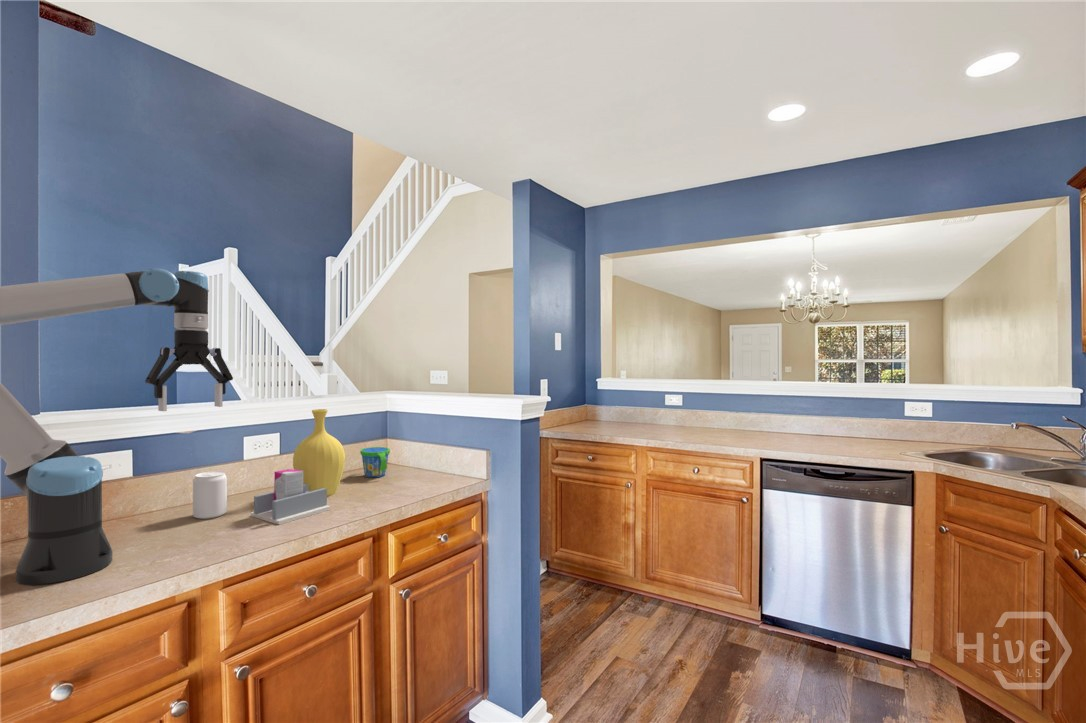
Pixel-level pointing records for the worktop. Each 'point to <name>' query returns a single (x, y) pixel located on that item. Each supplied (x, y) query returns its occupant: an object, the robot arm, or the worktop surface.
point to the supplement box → (288, 483)
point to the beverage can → (209, 494)
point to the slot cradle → (290, 506)
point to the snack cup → (375, 461)
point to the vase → (320, 457)
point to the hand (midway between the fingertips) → (191, 408)
